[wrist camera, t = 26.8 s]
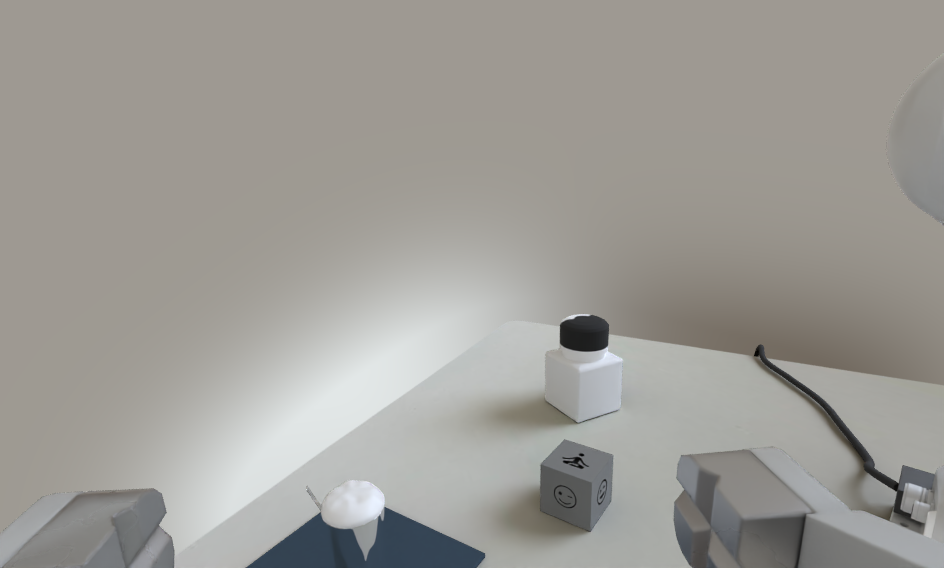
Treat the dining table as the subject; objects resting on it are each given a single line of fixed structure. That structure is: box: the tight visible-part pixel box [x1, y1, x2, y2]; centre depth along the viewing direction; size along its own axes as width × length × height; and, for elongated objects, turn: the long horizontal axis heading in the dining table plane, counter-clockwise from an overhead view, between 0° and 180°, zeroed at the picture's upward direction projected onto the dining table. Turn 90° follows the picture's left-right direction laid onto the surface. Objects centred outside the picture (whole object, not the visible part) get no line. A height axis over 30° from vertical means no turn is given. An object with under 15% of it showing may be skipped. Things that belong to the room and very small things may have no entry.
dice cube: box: [540, 440, 613, 531], centre depth 49 cm, size 5×5×5 cm
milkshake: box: [306, 480, 385, 568], centre depth 39 cm, size 5×5×10 cm
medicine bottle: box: [545, 314, 623, 423], centre depth 67 cm, size 7×7×12 cm
